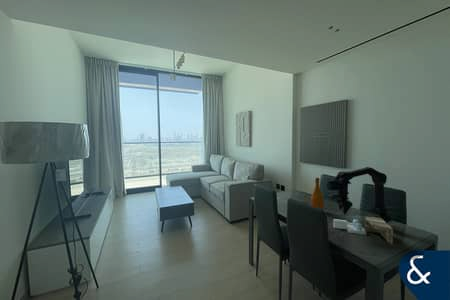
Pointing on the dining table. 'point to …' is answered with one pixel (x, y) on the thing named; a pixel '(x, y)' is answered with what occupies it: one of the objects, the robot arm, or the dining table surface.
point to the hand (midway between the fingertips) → (342, 211)
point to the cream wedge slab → (379, 228)
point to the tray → (350, 226)
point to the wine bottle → (317, 196)
